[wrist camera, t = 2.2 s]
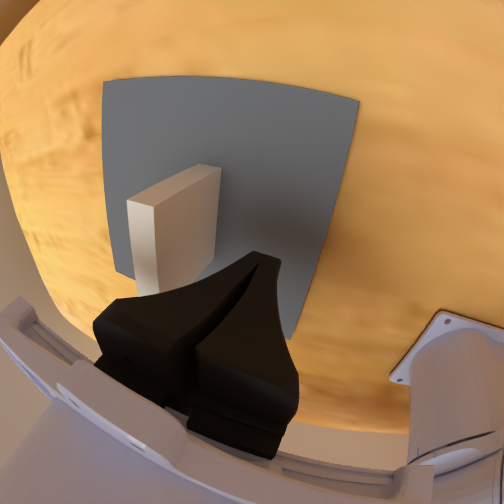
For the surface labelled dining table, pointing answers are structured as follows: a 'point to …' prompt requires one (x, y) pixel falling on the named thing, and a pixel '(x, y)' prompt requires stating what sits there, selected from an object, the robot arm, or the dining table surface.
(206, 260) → the tile
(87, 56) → the dining table surface
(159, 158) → the mat
